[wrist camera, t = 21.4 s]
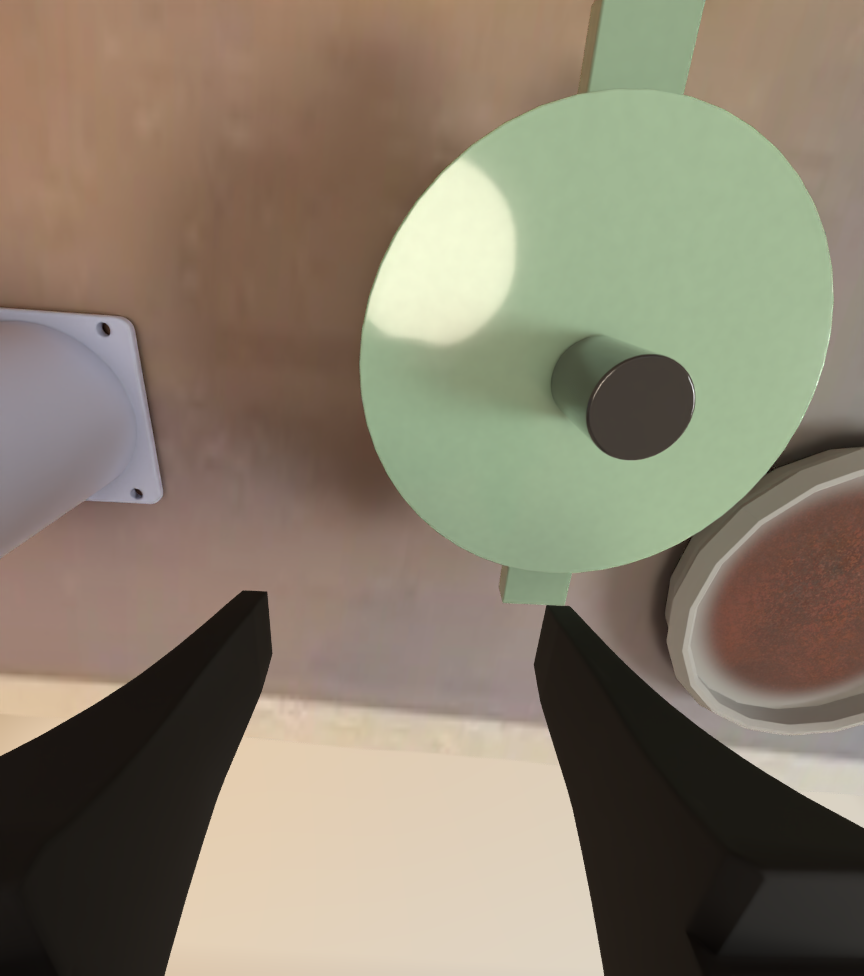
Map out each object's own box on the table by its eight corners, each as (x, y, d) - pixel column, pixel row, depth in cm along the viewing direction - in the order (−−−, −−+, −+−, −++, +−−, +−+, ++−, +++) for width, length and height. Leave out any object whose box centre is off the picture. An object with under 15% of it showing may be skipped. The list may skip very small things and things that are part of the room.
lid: (360, 547, 17) (342, 632, 13) (366, 76, 11) (339, -26, 7) (719, 564, 17) (807, 650, 13) (886, 129, 12) (1111, 61, 8)
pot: (384, 523, 23) (372, 610, 17) (401, 59, 16) (390, -63, 10) (628, 536, 24) (697, 623, 18) (751, 96, 16) (935, 1, 11)
